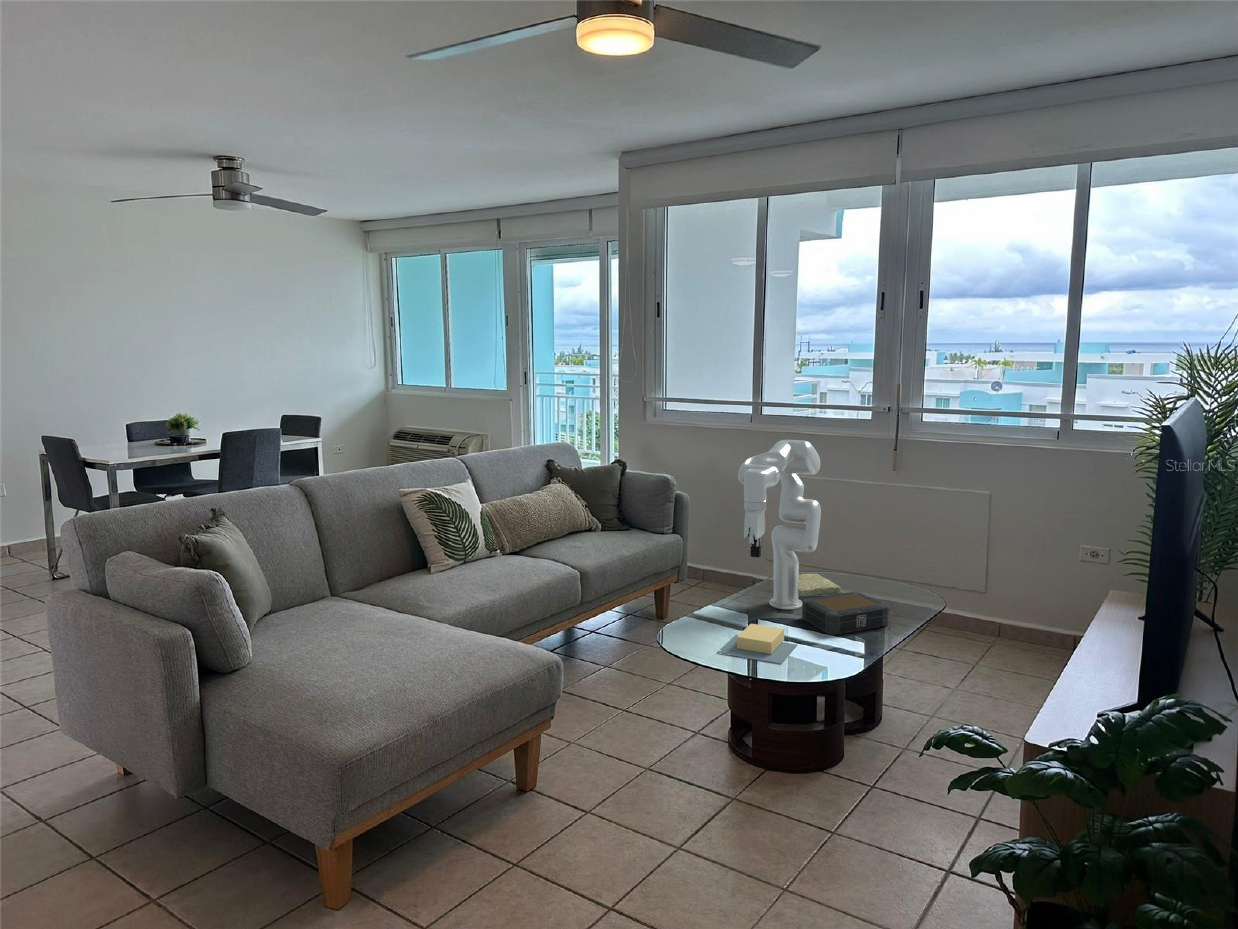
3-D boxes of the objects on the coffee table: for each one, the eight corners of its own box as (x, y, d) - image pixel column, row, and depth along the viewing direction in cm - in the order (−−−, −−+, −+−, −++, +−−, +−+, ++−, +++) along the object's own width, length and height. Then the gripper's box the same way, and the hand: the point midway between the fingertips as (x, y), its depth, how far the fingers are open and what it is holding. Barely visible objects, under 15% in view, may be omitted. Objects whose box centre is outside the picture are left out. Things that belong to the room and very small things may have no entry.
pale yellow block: (750, 623, 291) (736, 636, 279) (784, 628, 285) (771, 642, 273) (750, 635, 291) (736, 649, 279) (784, 640, 286) (771, 654, 274)
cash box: (832, 637, 290) (832, 616, 289) (800, 618, 309) (800, 598, 308) (891, 627, 298) (891, 606, 297) (856, 609, 317) (857, 590, 316)
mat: (735, 635, 292) (735, 634, 292) (797, 645, 282) (797, 644, 282) (716, 653, 277) (716, 652, 277) (781, 664, 267) (781, 663, 266)
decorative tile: (816, 579, 357) (816, 571, 356) (840, 593, 338) (841, 585, 337) (777, 584, 352) (777, 576, 352) (799, 598, 333) (799, 589, 332)
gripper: (751, 499, 294) (752, 549, 297) (737, 509, 280) (738, 561, 284) (772, 501, 290) (772, 551, 294) (759, 511, 277) (759, 564, 281)
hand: (755, 556), depth 289 cm, fingers closed
